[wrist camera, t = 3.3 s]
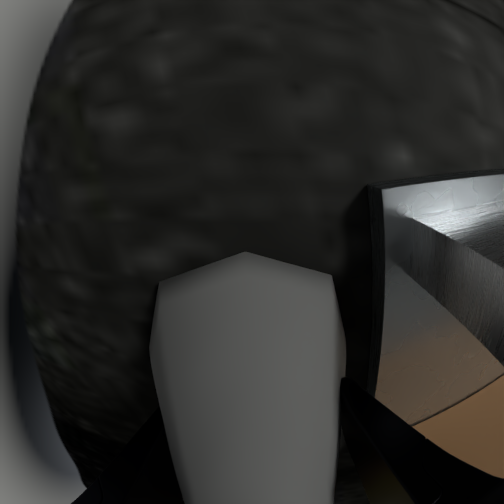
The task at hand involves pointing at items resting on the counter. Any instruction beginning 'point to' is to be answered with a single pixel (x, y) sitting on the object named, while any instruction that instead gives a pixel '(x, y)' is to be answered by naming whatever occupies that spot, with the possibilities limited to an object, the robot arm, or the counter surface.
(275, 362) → the flask
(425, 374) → the vise base
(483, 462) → the block
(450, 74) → the counter surface
